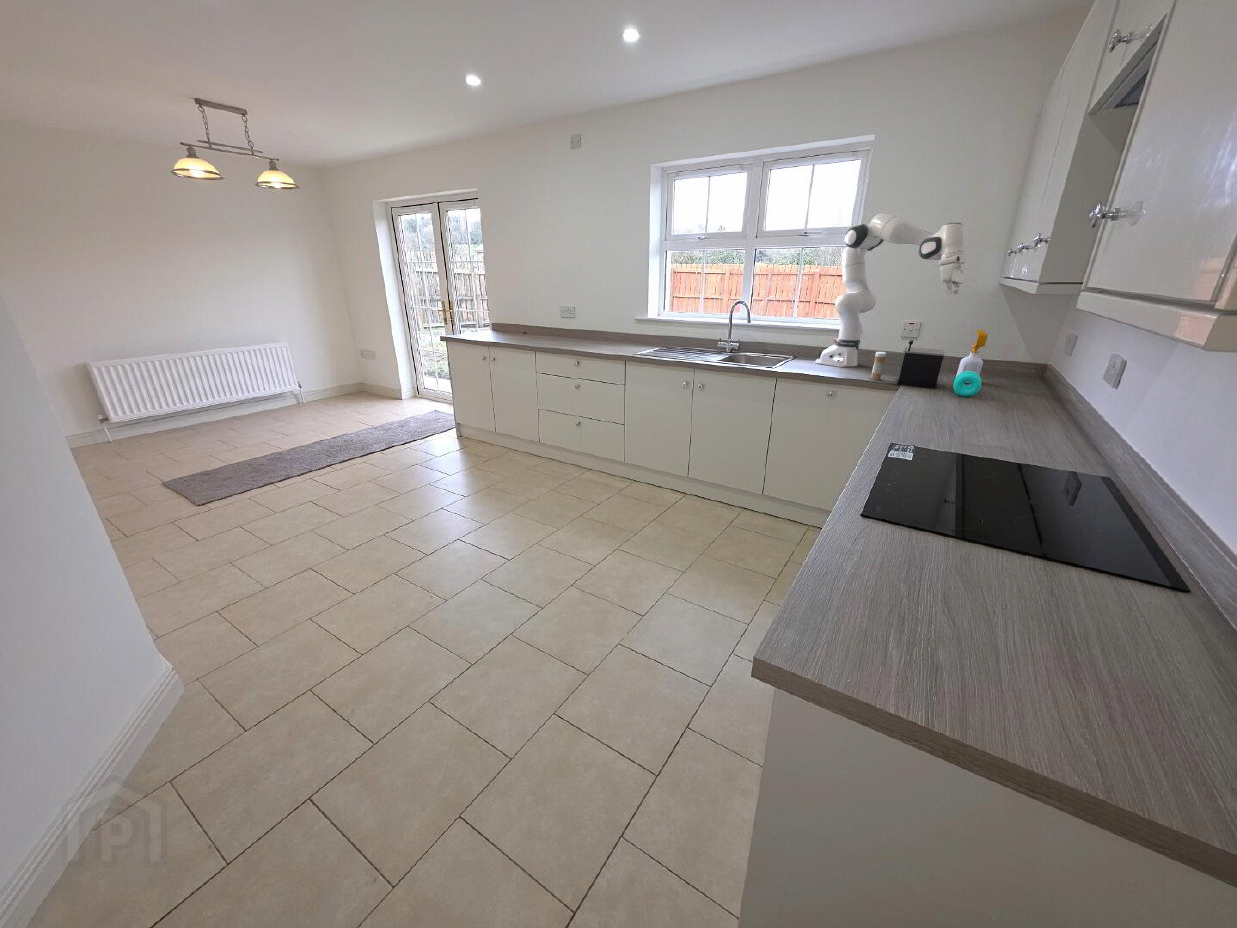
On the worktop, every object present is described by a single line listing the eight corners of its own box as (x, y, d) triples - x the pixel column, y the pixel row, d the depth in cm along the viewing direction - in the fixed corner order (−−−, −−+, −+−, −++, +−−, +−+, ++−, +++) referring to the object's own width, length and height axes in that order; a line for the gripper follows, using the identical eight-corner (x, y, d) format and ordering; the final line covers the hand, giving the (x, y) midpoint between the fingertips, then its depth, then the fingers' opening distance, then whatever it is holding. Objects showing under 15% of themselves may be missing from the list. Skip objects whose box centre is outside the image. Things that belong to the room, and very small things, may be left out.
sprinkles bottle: (872, 377, 247) (878, 351, 241) (882, 379, 243) (888, 352, 238) (868, 379, 244) (874, 352, 239) (877, 380, 241) (883, 353, 235)
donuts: (977, 393, 219) (984, 371, 215) (977, 398, 211) (984, 376, 207) (951, 390, 224) (957, 369, 220) (950, 395, 216) (956, 373, 212)
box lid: (903, 352, 228) (905, 341, 226) (904, 348, 238) (906, 338, 236) (943, 356, 220) (946, 344, 218) (943, 351, 230) (946, 341, 228)
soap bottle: (970, 379, 244) (985, 329, 234) (980, 384, 236) (996, 332, 226) (951, 379, 245) (965, 329, 235) (961, 383, 236) (976, 332, 227)
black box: (897, 384, 234) (905, 352, 228) (899, 379, 244) (906, 348, 238) (935, 388, 226) (943, 356, 220) (935, 383, 236) (943, 351, 230)
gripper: (951, 265, 223) (951, 296, 225) (937, 261, 210) (938, 294, 212) (967, 261, 219) (967, 293, 221) (955, 257, 205) (955, 290, 207)
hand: (953, 293), depth 216 cm, fingers open, 8 cm apart
